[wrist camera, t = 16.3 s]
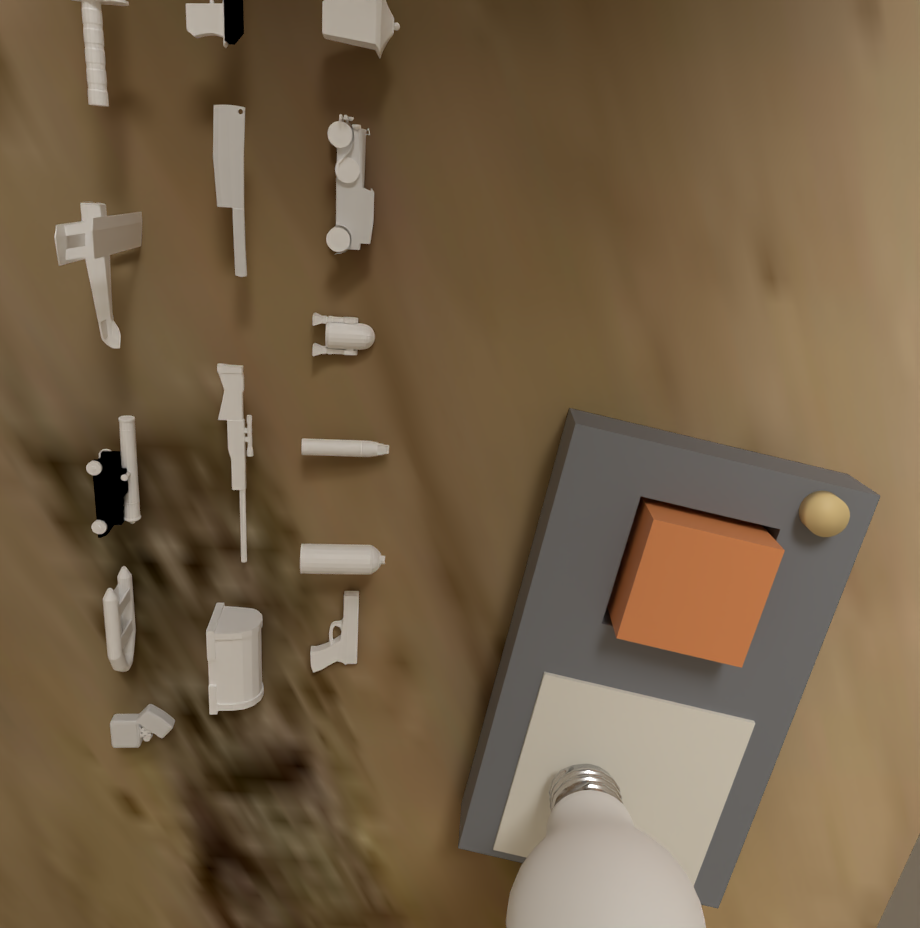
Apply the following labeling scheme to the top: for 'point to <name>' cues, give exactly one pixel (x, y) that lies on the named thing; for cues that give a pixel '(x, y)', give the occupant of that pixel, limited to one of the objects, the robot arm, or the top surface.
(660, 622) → the button
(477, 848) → the breaker board
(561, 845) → the light bulb
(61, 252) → the miniature set
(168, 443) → the top surface
